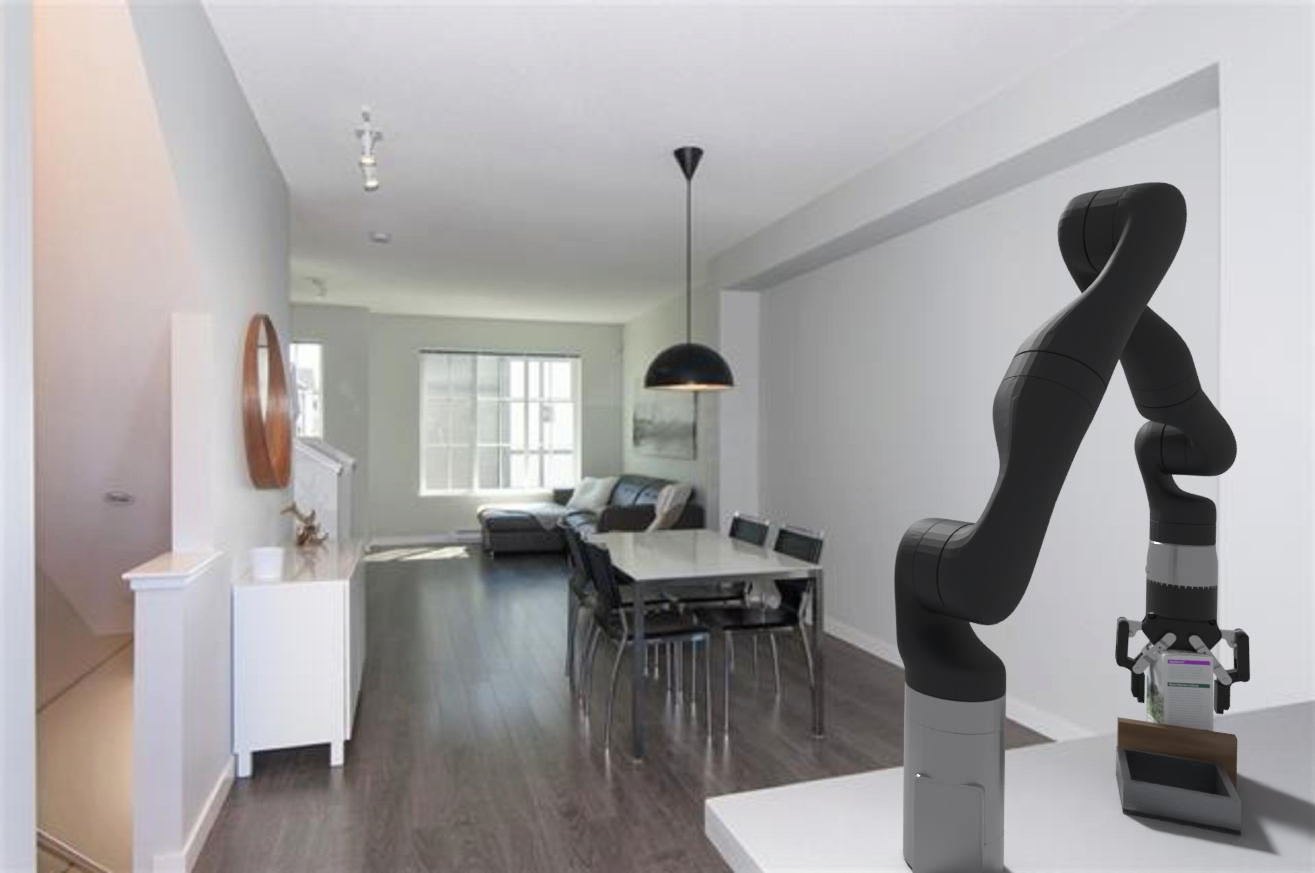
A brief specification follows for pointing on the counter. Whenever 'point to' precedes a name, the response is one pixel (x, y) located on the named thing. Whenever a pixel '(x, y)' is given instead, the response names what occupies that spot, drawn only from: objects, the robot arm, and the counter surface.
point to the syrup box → (1180, 689)
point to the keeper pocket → (1177, 790)
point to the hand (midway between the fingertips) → (1179, 706)
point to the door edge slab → (1180, 742)
